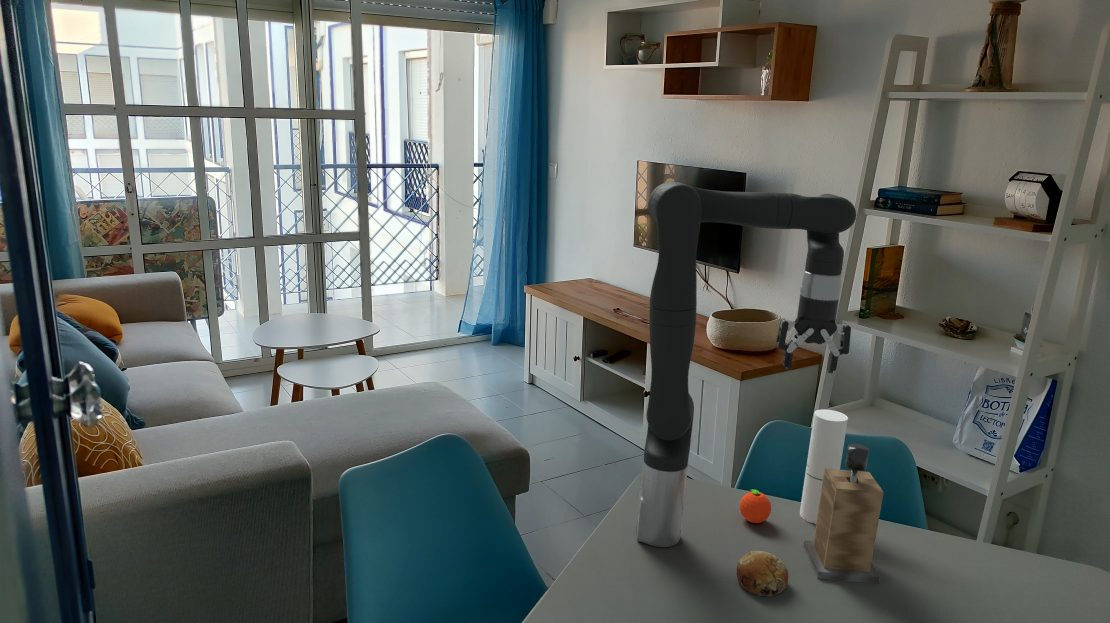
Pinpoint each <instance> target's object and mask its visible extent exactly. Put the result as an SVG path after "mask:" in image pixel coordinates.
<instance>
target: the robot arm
mask: <svg viewBox="0 0 1110 623" xmlns="http://www.w3.org/2000/svg"><path fill="white" fill-rule="evenodd" d="M647 209H648V212H649V215H650V217H651V218H652V219H653V221H654V222H655V223H656V225H657V236H658V238H657V240H658V259H657V264H656V269H655V273H654V277H653V280H652V284H651V289H650V296H649V311H648V312H649V314H648V315H649V317H648V319H649V321H648V322H649V326H648V327H649V329H648V330H649V350H650V363H651V364H650V365H651V377H650V378H651V380H650V387H649V396H648V403H647V407H646V421H647V432H646V439H645V444H644V451H643V461H642V463H643V464H642V473H641V485H640V487H639V496H638V506H637V516H636V517H637V518H636V538H637V539H636V541H637V542H641V543H644V544H646V545H650V546H653V547H656V548H657V547H659V548H668V547H669V548H670V547H672V546H673V547H674V546H675V545H677V544H678V543H679V542H680V541H681V535H682V534H681V533H682V522H683V513H684V512H683V511H684V506H685V505H684V504H685V495H686V493H685V492H686V485H687V475H688V466H689V457H690V450H691V443H692V433H693V423H694V415H695V414H694V413H695V404H694V400H693V397H692V396H691V394H690V392H689V372H690V366H691V360H692V355H693V350H694V345H695V344H694V343H695V337H696V326H697V302H698V301H697V295H698V294H697V286H698V284H697V283H698V281H697V280H698V279H697V250H698V242H699V235H700V229H701V223H721V224H722V223H723V224H730V225H736V226H744V227H750V228H759V229H771V230H773V229H774V230H777V229H778V230H803V231H804V230H805V231H806V241H807V253H806V260H805V265H804V266H805V267H804V273H803V276H802V280H801V286H800V288H799V290H800V294H799V299H798V300H799V301H798V308H797V313H796V314H797V315H796V319H795V320H794V321H793V320H787V319H786V318H781V319H780V320H779V321H780V322H779V325H778V326H779V327H778V331H777V336H776V342H775V344H776V346H777V348H778V349H780V350H783V351H784V352H783V357H782V358H783V359H782V365H783V366H784V367H785V369H786V370H787V371H791V370H792V364H793V358H794V356H793V355H794V353H793V352H794V351H795V350H796V349H797V348H798V347H800V346H801V345H802V344H803V343H806V344H817V345H822V344H824V343H825V345H826V347H827V348H828V349H829V351H830V353H828V358H827V366H826V372H827V373H828V374H833V373H834V372H835V371H836V370H837V367H838V360H839V357H840V356H841V355H848V354H849V352H850V346H851V345H850V344H851V334H852V327H851V326H850V325H849V324H848V323H847V322H843V323H842V324H838V323H836V320H837V314H838V307H839V302H840V301H839V300H840V294H841V293H840V292H841V288H842V286H841V285H842V272H843V266H844V265H843V264H844V258H845V257H844V256H845V251H844V248H843V246H842V245H841V244H840V233H843V232H846V231H847V230H849V229H851V227H852V226H853V225H854V223H855V222H856V219H857V211H856V210H857V209H856V207H855V206H854V204H853V203H852V202H851V201H850V200H849V199H847V198H845V197H842V196H838V195H835V194H832V193H822V194H820V195H817V196H805V195H801V194H796V193H790V192H788V193H787V192H770V191H769V192H768V191H762V192H761V191H757V192H756V191H723V190H722V191H721V190H711V189H705V188H699V187H695V186H690V185H689V184H686V183H683V182H680V181H666V182H664V183H662V184H659V185H658V186H656V187H655V188H654V189H653V190H652V192H651V194H650V195H649V198H648V201H647ZM792 328H794V329H795V331H796V332H795V333H794V334H793V335H792V336H791V338H790V339H789V341H787V342H786V339H787V335H788V332H790V331H791V330H792ZM836 331H837V332H838V334H839V335H840V341H839V346H838V347H837V346H836V344H835V342H834V341H833V339H832V338H831V337H832V336H833V335H834V334H835V333H836Z"/></svg>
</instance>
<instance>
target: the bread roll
mask: <svg viewBox="0 0 1110 623" xmlns="http://www.w3.org/2000/svg"><path fill="white" fill-rule="evenodd" d="M736 578H737V582H738V585H739V586H740V587H741V588H742V589H743V590H745V591H746V592H747V593H750V594H752V595H756V596H761V597H767V598H770V597H773V596H774V597H775V596H777V595H779V594H781V593H782V592H784V590H785V589H787V588H788V584H789V571H788V568H787V566H786V564H785V563H784V561H782V559H780V557H778V556H776V555H774V554H772V553H770V552H767V551H764V550H751V551H749V552H748V553H746V554H744V555H743V556H742V557H741V558H740V559H739V560H738V561H737V566H736Z"/></svg>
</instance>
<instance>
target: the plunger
mask: <svg viewBox="0 0 1110 623" xmlns="http://www.w3.org/2000/svg"><path fill="white" fill-rule="evenodd" d="M869 453H870V448H869V447H868V446H866V445H863V444H860V443H849V444H848V445H847V450H846V454H845V455H846V456H845V462H844V465H845V467H846V468H848V469H850V471H851V477H850V482H853V483H856V481H857V475H858V471H862V472H864V471H866V470H867V466H868V460H869V455H870V454H869Z"/></svg>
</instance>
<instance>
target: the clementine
mask: <svg viewBox="0 0 1110 623" xmlns="http://www.w3.org/2000/svg"><path fill="white" fill-rule="evenodd" d="M739 511H740V513H741V516H742V517H743V518H744V520H746V521H748V522H750V523H753V524H760V523H763V522H765V521H766V520H768V518H769V517H770V515H771V512H772V504H771V501H770V499H769V497H768V496H767V495H766V494H764V493H763V492H760V491H759V490H758V489H750V490H749V491H748V492H747V493H746V494H744V495H743V496H742V498H741V499H740V502H739Z"/></svg>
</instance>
